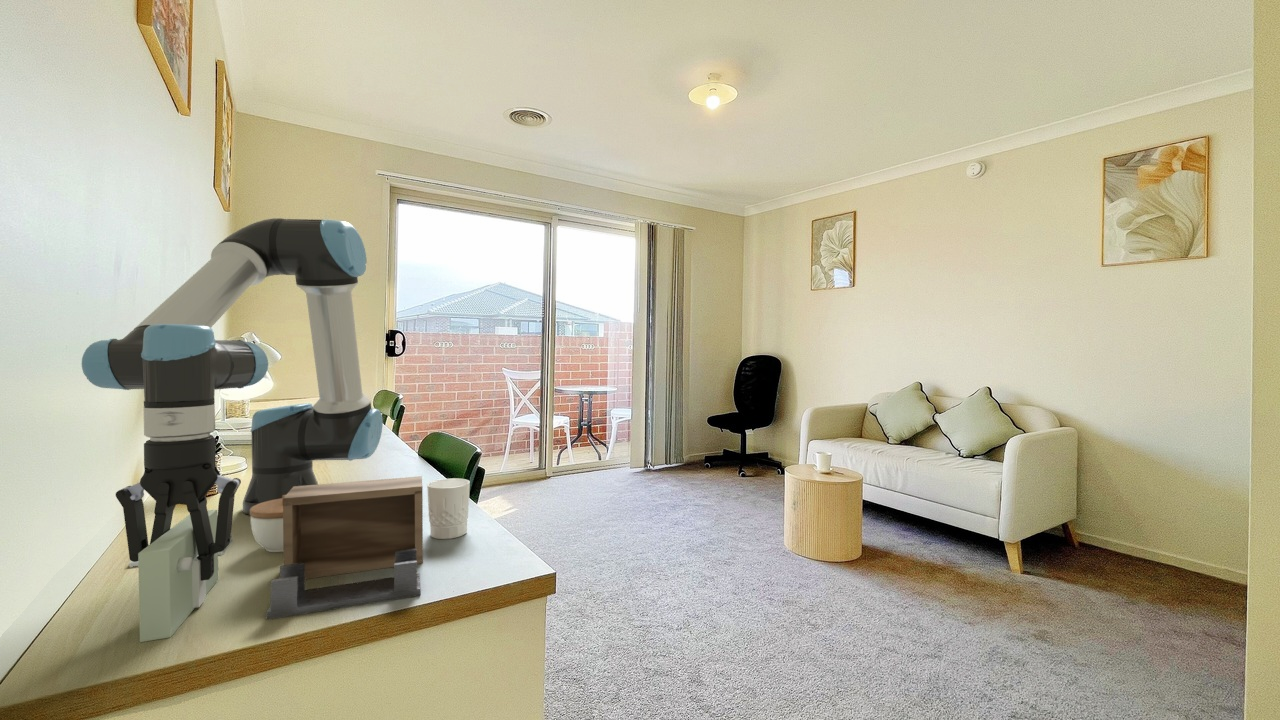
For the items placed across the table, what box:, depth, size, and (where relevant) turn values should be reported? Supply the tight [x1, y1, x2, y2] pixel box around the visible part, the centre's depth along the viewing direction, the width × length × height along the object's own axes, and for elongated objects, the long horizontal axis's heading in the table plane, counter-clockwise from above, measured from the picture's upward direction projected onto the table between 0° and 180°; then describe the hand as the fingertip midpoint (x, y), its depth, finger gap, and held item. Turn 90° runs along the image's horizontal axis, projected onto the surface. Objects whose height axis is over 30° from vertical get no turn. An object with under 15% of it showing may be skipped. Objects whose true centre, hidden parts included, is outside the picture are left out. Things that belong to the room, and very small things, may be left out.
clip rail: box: [266, 548, 422, 621], centre depth 79 cm, size 6×19×5 cm, turn 113°
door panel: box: [137, 509, 219, 643], centre depth 76 cm, size 18×4×11 cm, turn 23°
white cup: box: [426, 477, 471, 540], centre depth 106 cm, size 8×8×10 cm
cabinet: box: [282, 475, 424, 580], centre depth 91 cm, size 8×20×13 cm, turn 113°
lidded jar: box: [249, 495, 286, 553], centre depth 99 cm, size 11×11×9 cm
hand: (182, 605), depth 75 cm, fingers closed on door panel, 3 cm apart
